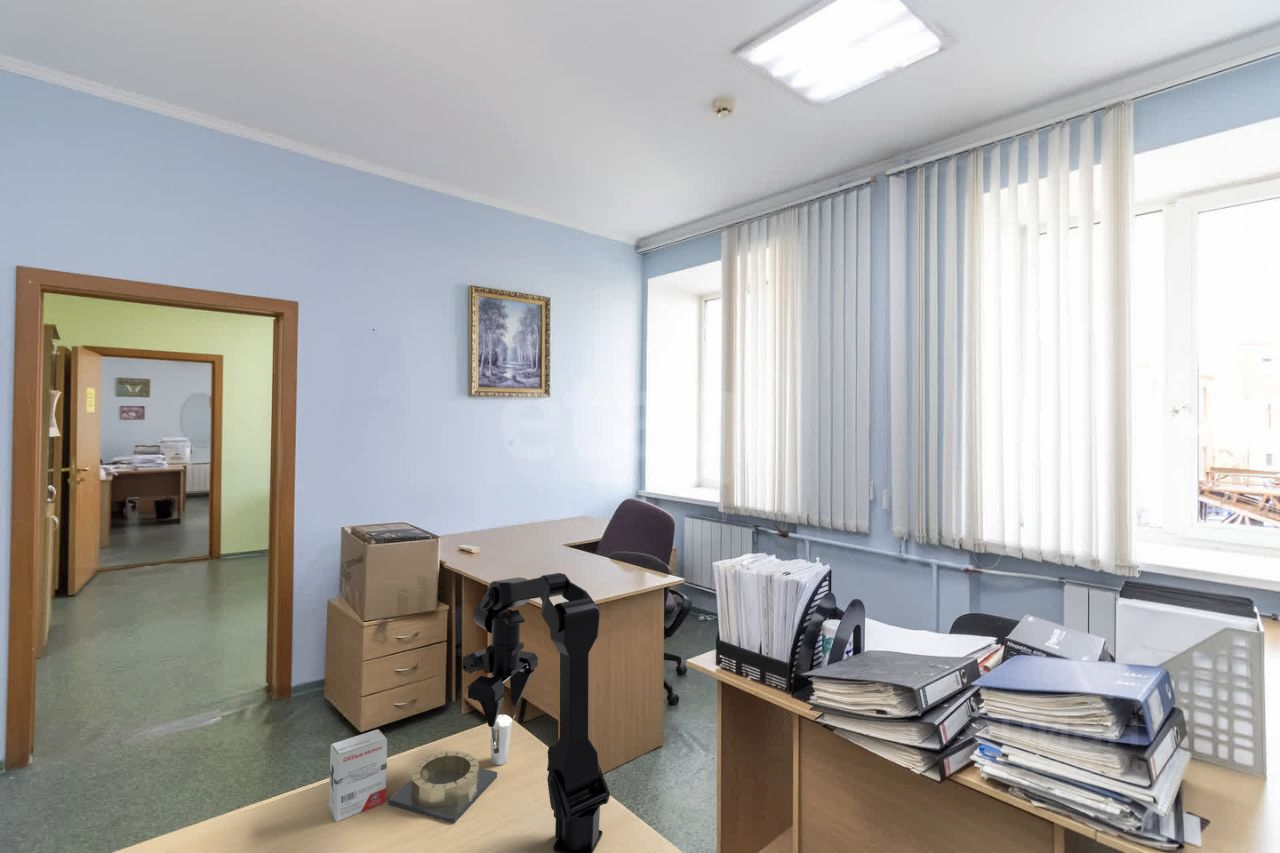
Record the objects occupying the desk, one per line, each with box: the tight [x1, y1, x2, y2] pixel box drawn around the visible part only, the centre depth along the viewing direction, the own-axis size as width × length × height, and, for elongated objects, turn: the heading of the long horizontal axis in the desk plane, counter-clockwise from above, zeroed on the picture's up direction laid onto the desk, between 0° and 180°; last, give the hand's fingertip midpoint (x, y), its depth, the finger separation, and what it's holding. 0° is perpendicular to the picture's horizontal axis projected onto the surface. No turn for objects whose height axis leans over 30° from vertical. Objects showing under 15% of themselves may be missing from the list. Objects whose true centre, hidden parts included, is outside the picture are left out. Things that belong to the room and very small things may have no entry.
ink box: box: [328, 729, 388, 823], centre depth 105 cm, size 8×5×12 cm, turn 133°
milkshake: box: [489, 714, 516, 766], centre depth 120 cm, size 4×5×10 cm
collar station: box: [387, 750, 498, 824], centre depth 110 cm, size 14×14×4 cm
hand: (503, 715), depth 120 cm, fingers open, 9 cm apart
